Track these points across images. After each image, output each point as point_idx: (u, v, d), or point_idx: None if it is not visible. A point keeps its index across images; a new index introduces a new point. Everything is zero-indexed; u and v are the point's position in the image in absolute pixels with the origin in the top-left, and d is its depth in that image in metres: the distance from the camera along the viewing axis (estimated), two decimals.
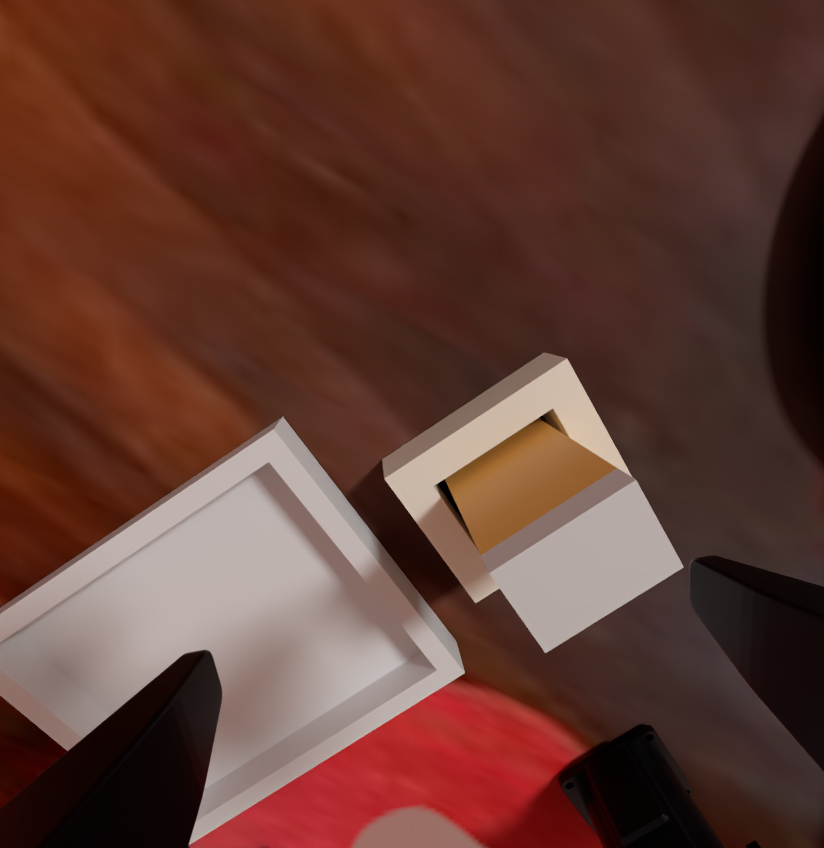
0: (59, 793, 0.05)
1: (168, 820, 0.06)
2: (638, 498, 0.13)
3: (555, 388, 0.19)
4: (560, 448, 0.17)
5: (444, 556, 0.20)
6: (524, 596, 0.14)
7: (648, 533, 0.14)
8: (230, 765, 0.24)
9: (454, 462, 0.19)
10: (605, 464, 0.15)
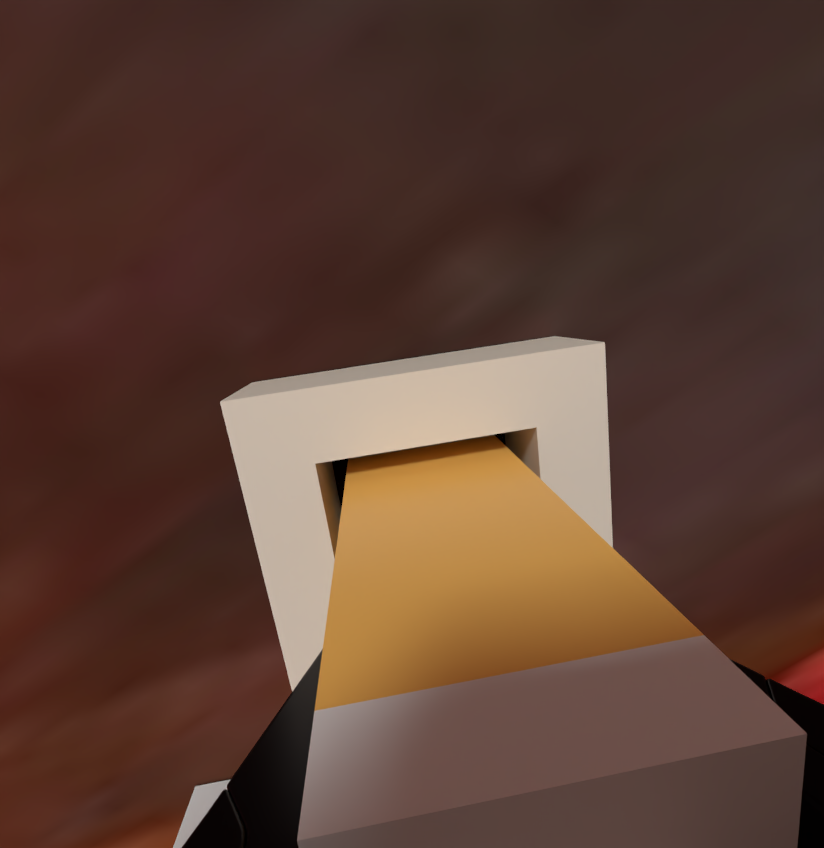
0: (300, 745, 0.05)
1: None
2: None
3: (275, 445, 0.09)
4: None
5: None
6: None
7: (567, 833, 0.03)
8: None
9: None
10: None
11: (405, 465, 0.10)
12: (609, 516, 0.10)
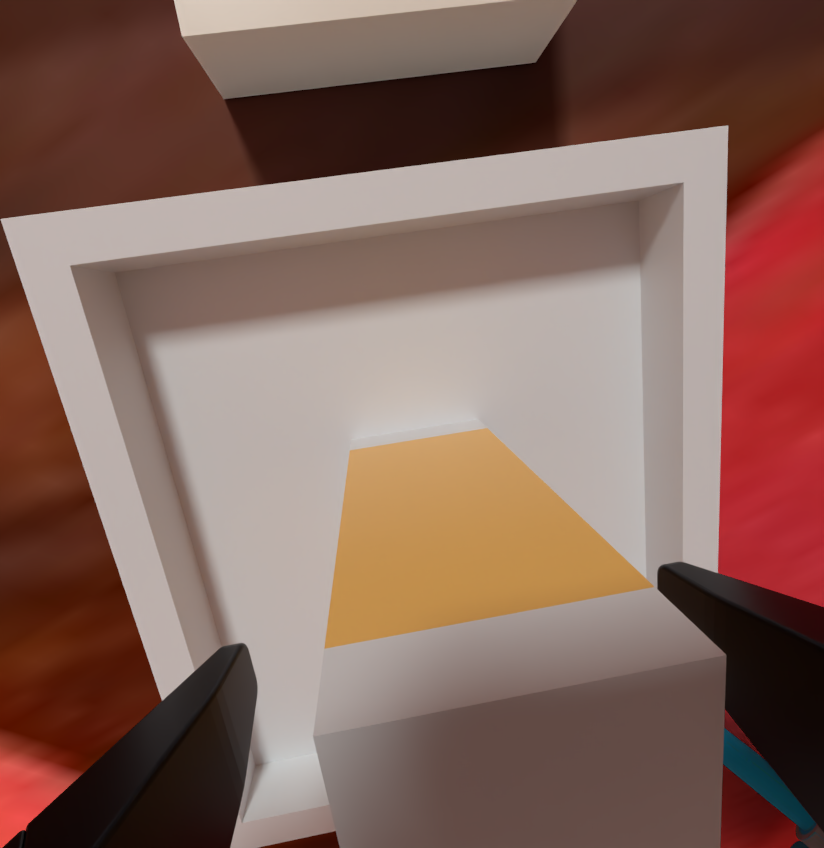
0: (117, 781, 0.05)
1: (215, 810, 0.06)
2: (385, 745, 0.04)
3: None
4: None
5: (430, 1, 0.09)
6: None
7: (532, 735, 0.04)
8: None
9: None
10: None
11: (403, 454, 0.10)
12: None
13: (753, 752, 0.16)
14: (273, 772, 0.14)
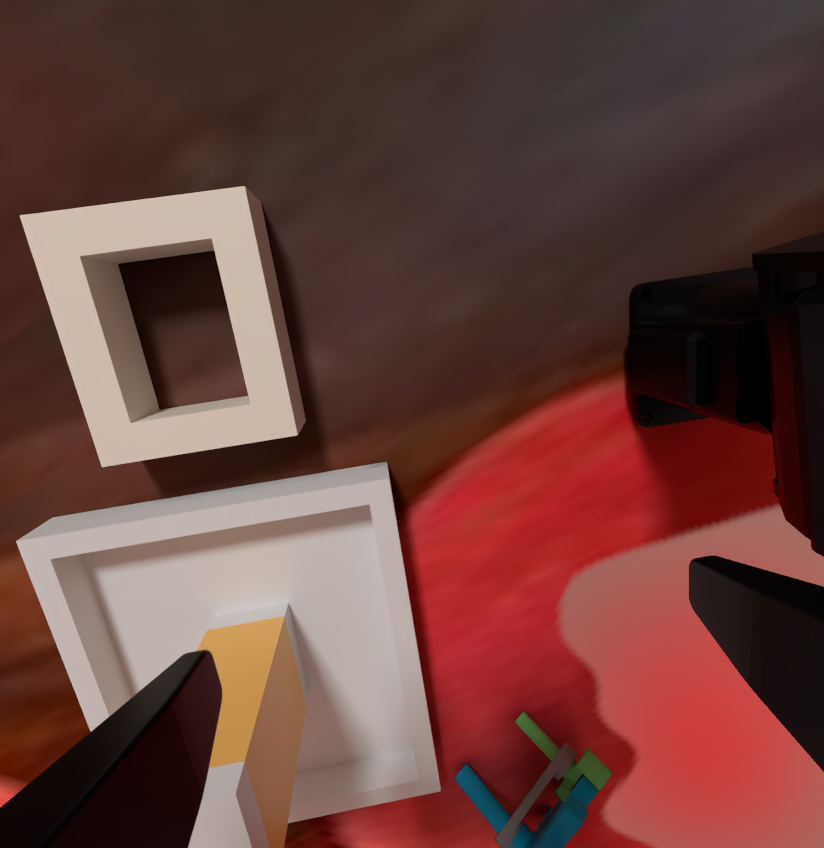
0: (59, 793, 0.05)
1: (168, 820, 0.06)
2: None
3: (54, 243, 0.16)
4: None
5: (221, 444, 0.18)
6: None
7: None
8: (402, 714, 0.24)
9: (108, 390, 0.17)
10: None
11: (228, 641, 0.20)
12: (269, 299, 0.17)
13: (481, 784, 0.25)
14: None
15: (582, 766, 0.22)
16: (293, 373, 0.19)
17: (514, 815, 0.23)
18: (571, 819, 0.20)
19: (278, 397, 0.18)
